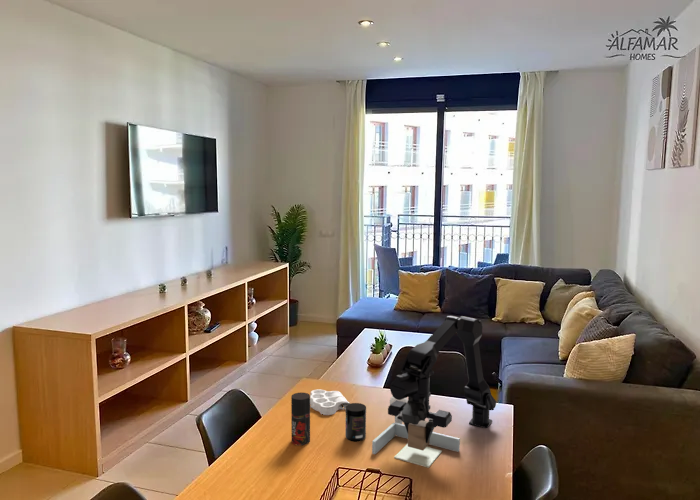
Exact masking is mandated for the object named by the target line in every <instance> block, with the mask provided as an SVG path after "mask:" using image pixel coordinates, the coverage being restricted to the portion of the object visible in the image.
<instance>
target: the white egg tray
mask: <svg viewBox="0 0 700 500" xmlns="http://www.w3.org/2000/svg"><path fill="white" fill-rule="evenodd" d="M309 395H310V409H313V410H314V411H316V412H319V413H320V415H322V414H323V415H322V416H331V415H334V414H336V413H337V411H338V410H346V405H348V404H351V402H349V401H348V400H347V398H346V397H345V396H344V395H343V393H342V392H340V391H339V390H331V391H329V390H325V389H320V388H319V389H313V390H311V391H310V394H309ZM342 405H343V407H344V408H343V407H342Z"/></svg>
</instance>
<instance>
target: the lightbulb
mask: <svg viewBox="0 0 700 500" xmlns="http://www.w3.org/2000/svg"><path fill="white" fill-rule="evenodd" d="M396 400H397V399H395V398H394V397H393V395H392V396H391V397H390V399H389V405H391V404H392V403H393V402H394V401H396ZM397 401H402V402H406V403H407V402H408V397H406V398H404V399H401V400H397ZM398 416H399V415H397V416H394V423H400V424H403V421H401V420H400V419H398Z"/></svg>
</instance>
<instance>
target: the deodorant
mask: <svg viewBox="0 0 700 500" xmlns="http://www.w3.org/2000/svg"><path fill="white" fill-rule="evenodd" d="M290 399H291V402H290V403H291V408H290V409H291V410H290V411H291V412H290V414H291V416H290V419H291V443H292V444H293V445H294V446H305V445H308V444H310V442H311V405H310V394H309V393H307V392H296V393H293V394H292V395H291V398H290Z"/></svg>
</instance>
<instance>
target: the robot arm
mask: <svg viewBox="0 0 700 500" xmlns="http://www.w3.org/2000/svg"><path fill="white" fill-rule="evenodd" d="M482 323H483V322H482V320H480V319H478V318H473V317H469V316H463V315H461V316H455V315H447V316H446V317H445V319H444V321H443V322H442V323H441V325H439V327H438V328H437V329H436V330H435V331H434V332H433V333H432V334H431V335H429V338H428V339H427V340H426V341H424V342H421V343H418V344H416V345H415V346H414V347H412V348H411V349H410V350H409V352H408V353H407V355H406V356H405V357H406V358H405V360H404V362H403V363H402V364H403V365H402V367H400V373H402V374H397V375H395V379H393V380H392V381H391V383H390V386H389V391H390V394H391V395H392V396H393V397H394V398H395V399H397V400H401V399H404V398H407V400H408V402H407V403H406V402H402V401H397V400H396V401H394V402H393V403H392V404H391V405H390V404H389V405H388V408H387V414H388V416H393V417H395V416H397V415H399V416H398V419H400V420H401V421H402V424H404V425H405V427H406V430H407V433H408V424H409V423H412V424H414V425H416V424H418V423H419V421H421V420H422V421H426V419H428V421H429V422H428V423H427V424H426V427H427V430H426V443H428V441H429V439H430V436H431V434H432V432H434V429H435V428H436V427H439V428H447V427H448V425H449V424H450V423H452V420H453V419H452V418H453V415H452V413H451V412H450V411H447V410H441V409H438V410H437V411H436V412H431V411H430V410H431V405H430V397H431V396H432V394H431V393H432V392H431V391H430V378H431V377H430V376H433V375H434V374H435V372H434V370H432V368H433V367H434V366H435V364H436V363H437V361H438V354H439V352H440V351H441V350H442V349H443V348H444V346H445V345H447V343H449V341H450V340H451V339H452V338H453V337H454V336H455V335H457V337H458V339H459V340H460V341H461V343H462V344H463V350H464V355H465V357H464V358H465V363H466V372H467V378H468V382H467V383H466V384H465V386H463V392H464V398H465V399H466V404H467V405H471V406H472V415H471V416H472V417H471V419H470V420H469V422H468V424H469V425H472V426H476V427H479V428H480V427H482V428H485V429H486V428H487V429H488V428H489V426H490V425H491V423H492V422H493V420H492V419H490V411H494V410H495V408H496V405H497V400H496V399H495V398H494V396H493V395H492V392H491V388H490V385H489V384H488V383H487V381H486V380H485V379H484V373H483V366H482V357H481V351H480V350H481V349H480V344H479V343H480V339H481V338H482V336H483V324H482Z"/></svg>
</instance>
